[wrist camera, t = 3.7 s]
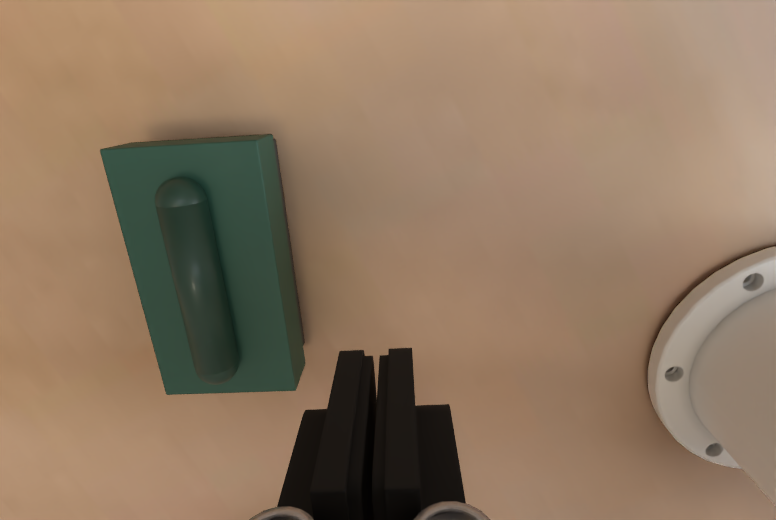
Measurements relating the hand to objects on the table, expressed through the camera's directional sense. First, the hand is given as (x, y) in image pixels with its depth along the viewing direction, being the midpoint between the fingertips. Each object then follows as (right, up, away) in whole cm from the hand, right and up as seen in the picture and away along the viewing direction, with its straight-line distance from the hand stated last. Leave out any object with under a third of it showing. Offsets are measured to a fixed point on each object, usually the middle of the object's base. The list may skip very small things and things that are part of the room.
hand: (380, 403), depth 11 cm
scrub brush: (-7, +4, +12) cm, 14 cm away
